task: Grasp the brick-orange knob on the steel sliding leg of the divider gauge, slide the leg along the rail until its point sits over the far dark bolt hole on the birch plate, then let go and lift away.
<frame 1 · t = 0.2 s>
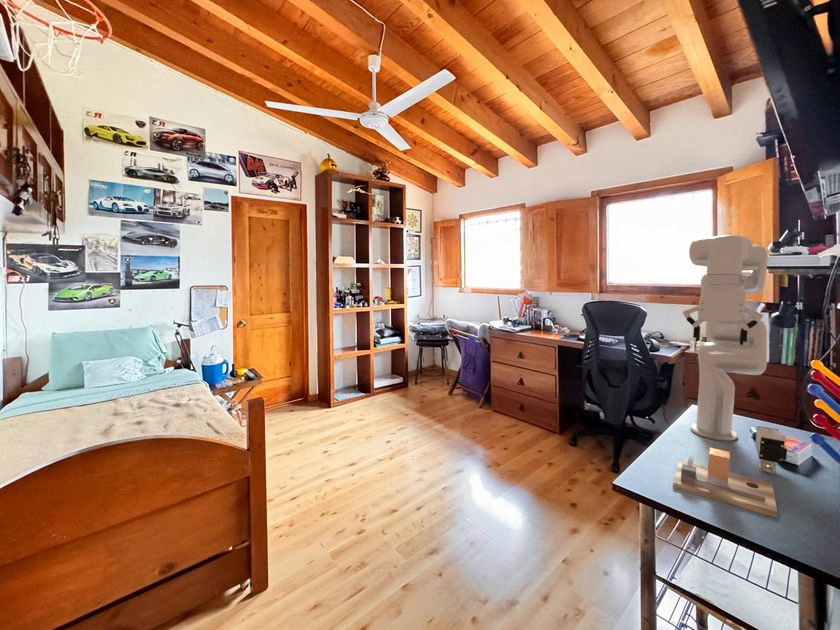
hand: (718, 342, 105), 36 cm above the table, tool pointing down, fingers open, 9 cm apart
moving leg: (718, 465, 97), point 7 cm above the table, slide at -1.0 cm
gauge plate: (721, 488, 98), on the table
pneumatic valve: (768, 471, 106), on the table
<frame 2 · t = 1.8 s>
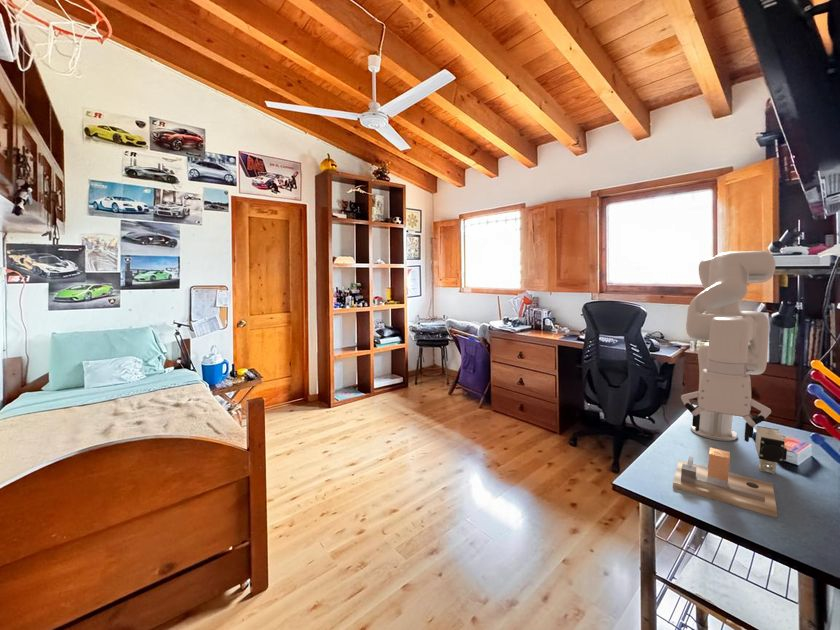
hand: (721, 434, 94), 16 cm above the table, tool pointing down, fingers open, 9 cm apart
nothing on the table moved.
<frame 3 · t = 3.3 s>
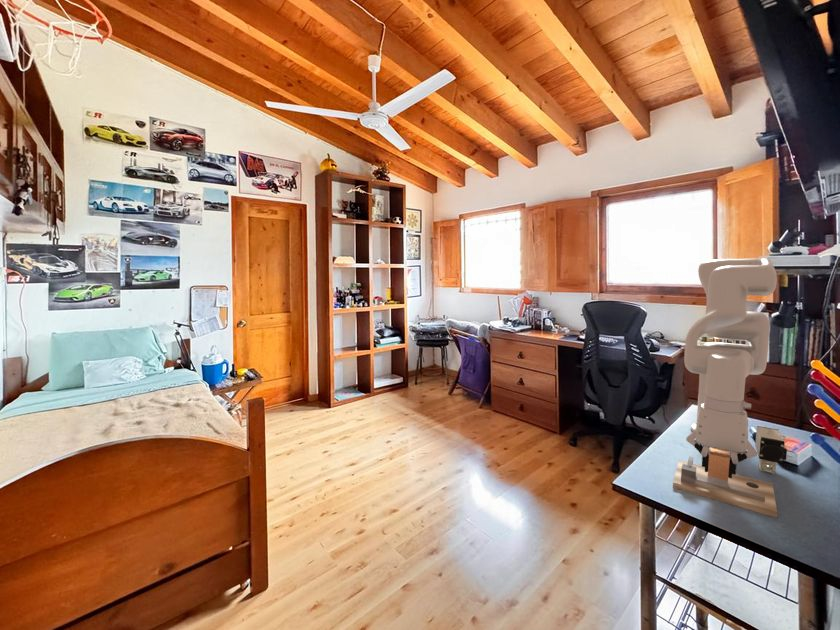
hand: (718, 472, 96), 6 cm above the table, tool pointing down, fingers closed on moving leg, 4 cm apart
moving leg: (718, 465, 97), point 7 cm above the table, slide at -1.0 cm, touching gripper
everything else where it was.
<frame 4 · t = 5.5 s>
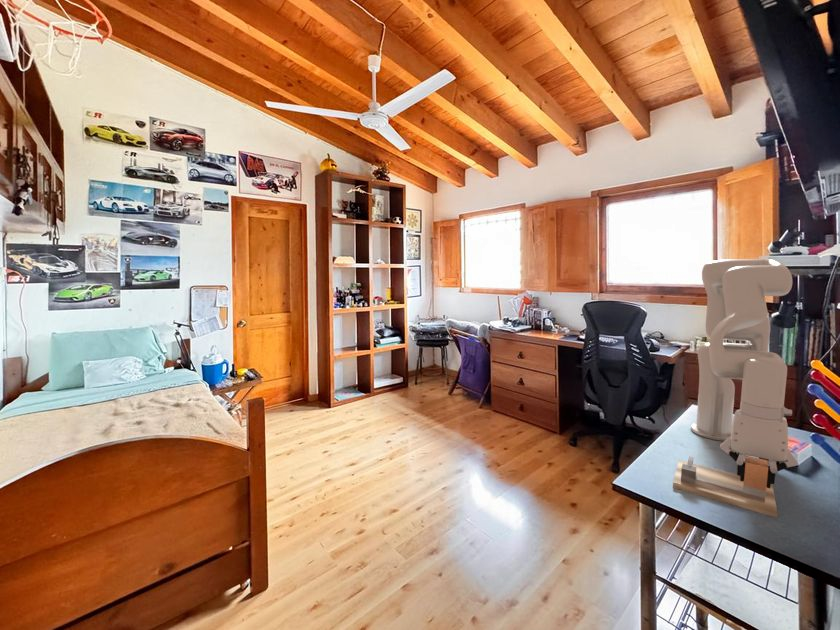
hand: (754, 481, 91), 6 cm above the table, tool pointing down, fingers closed on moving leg, 4 cm apart
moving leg: (754, 474, 93), point 6 cm above the table, slide at 6.0 cm, touching gripper
everything else where it was.
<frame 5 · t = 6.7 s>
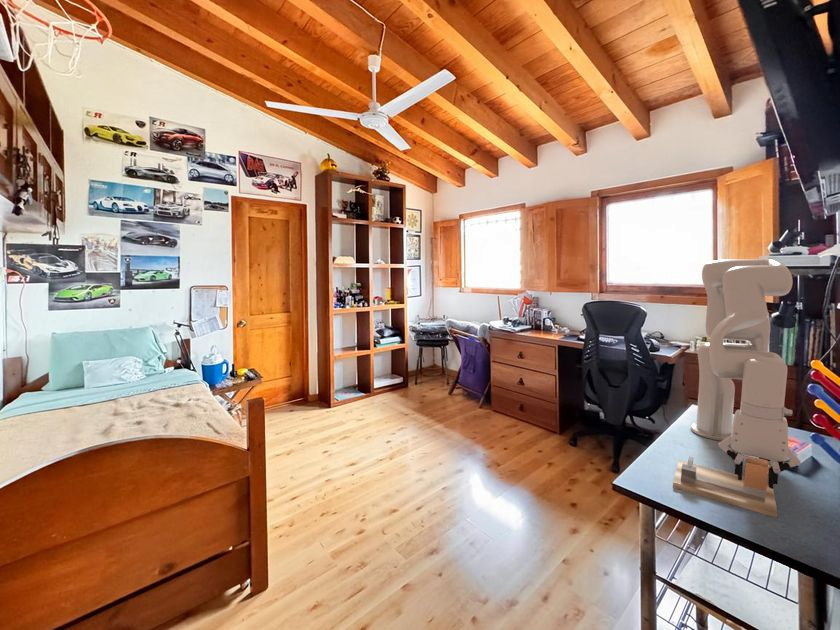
hand: (754, 481, 91), 6 cm above the table, tool pointing down, fingers open, 5 cm apart
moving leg: (754, 474, 93), point 7 cm above the table, slide at 6.0 cm
everything else where it was.
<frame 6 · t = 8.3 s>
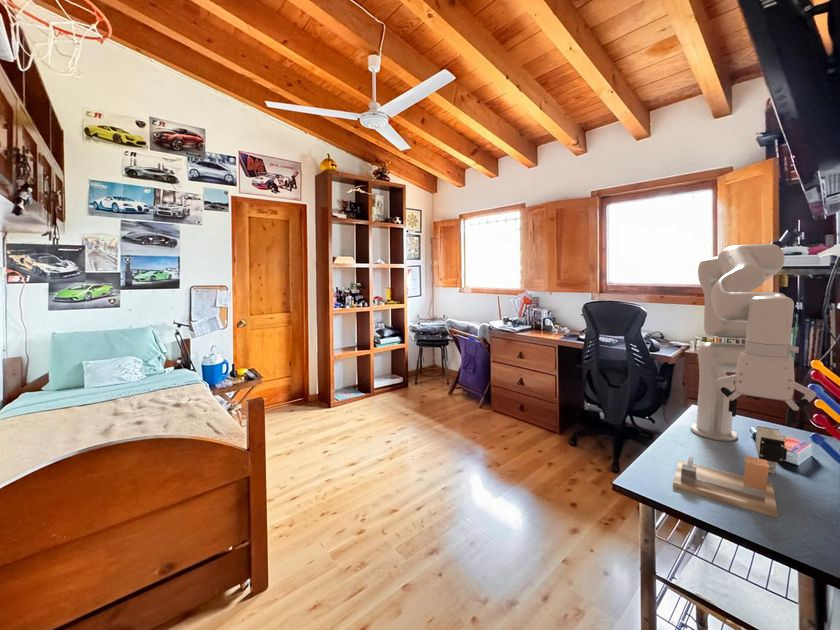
hand: (760, 419, 89), 21 cm above the table, tool pointing down, fingers open, 9 cm apart
nothing on the table moved.
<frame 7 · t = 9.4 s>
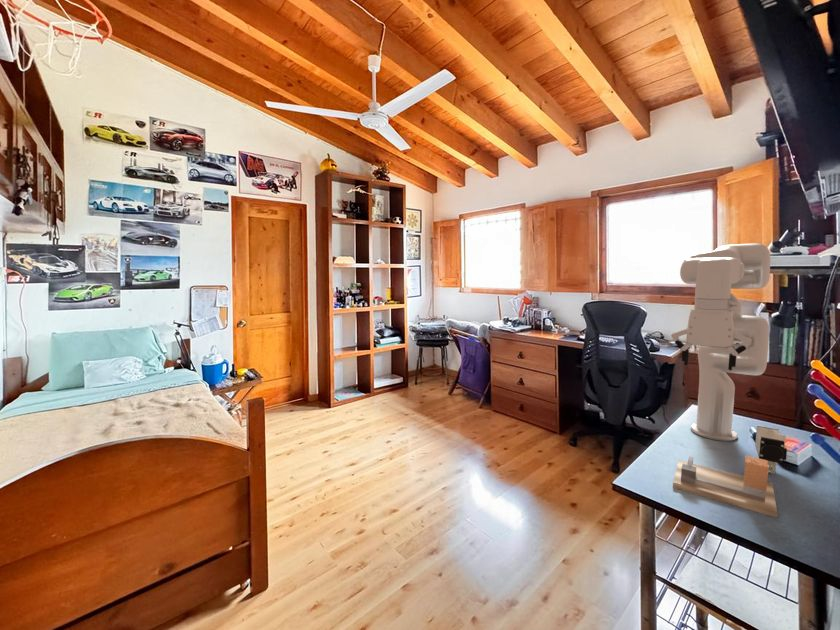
hand: (707, 366, 104), 30 cm above the table, tool pointing down, fingers open, 9 cm apart
nothing on the table moved.
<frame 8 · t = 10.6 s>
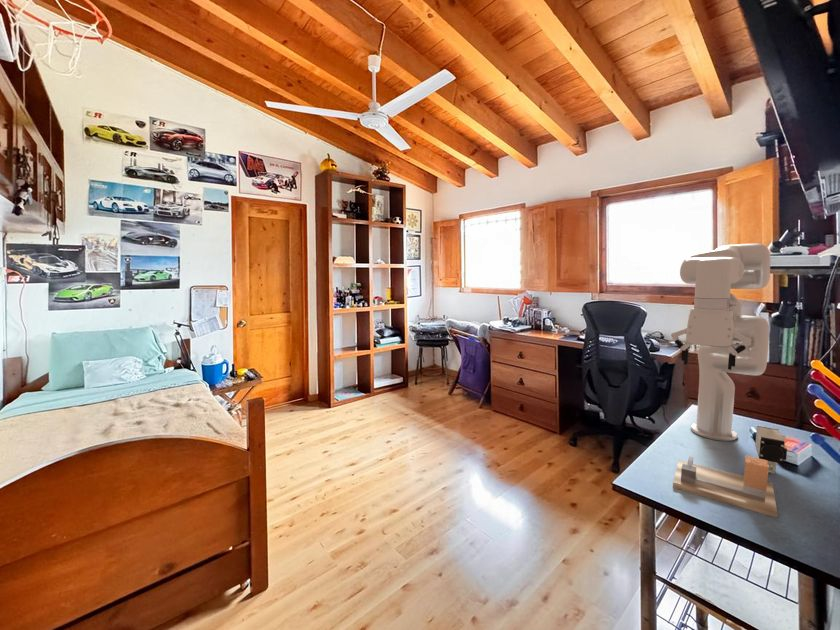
hand: (707, 366, 104), 30 cm above the table, tool pointing down, fingers open, 9 cm apart
nothing on the table moved.
at the end: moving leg slide at 6.0 cm; the gripper is holding nothing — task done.
